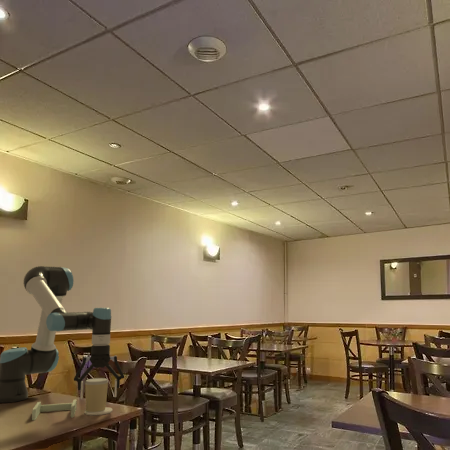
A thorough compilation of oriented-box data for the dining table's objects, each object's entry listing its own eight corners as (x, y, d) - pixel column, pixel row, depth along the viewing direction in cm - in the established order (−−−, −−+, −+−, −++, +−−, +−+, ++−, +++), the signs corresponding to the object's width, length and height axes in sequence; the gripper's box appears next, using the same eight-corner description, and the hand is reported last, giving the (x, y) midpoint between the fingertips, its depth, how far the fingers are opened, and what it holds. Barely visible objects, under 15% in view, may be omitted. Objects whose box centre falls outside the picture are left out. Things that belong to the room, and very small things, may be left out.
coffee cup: (102, 406, 186) (103, 377, 188) (110, 410, 179) (111, 379, 181) (80, 410, 180) (81, 379, 182) (88, 414, 173) (89, 382, 175)
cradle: (37, 411, 182) (38, 401, 183) (76, 408, 186) (76, 398, 187) (31, 420, 168) (32, 409, 169) (73, 417, 172) (74, 406, 173)
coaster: (85, 410, 183) (85, 408, 184) (112, 408, 186) (112, 406, 186) (83, 416, 173) (83, 414, 173) (112, 414, 176) (112, 412, 176)
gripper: (69, 346, 178) (65, 401, 174) (131, 344, 184) (129, 397, 180) (70, 344, 185) (67, 397, 181) (130, 342, 191) (128, 393, 188)
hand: (98, 397), depth 181 cm, fingers open, 13 cm apart
